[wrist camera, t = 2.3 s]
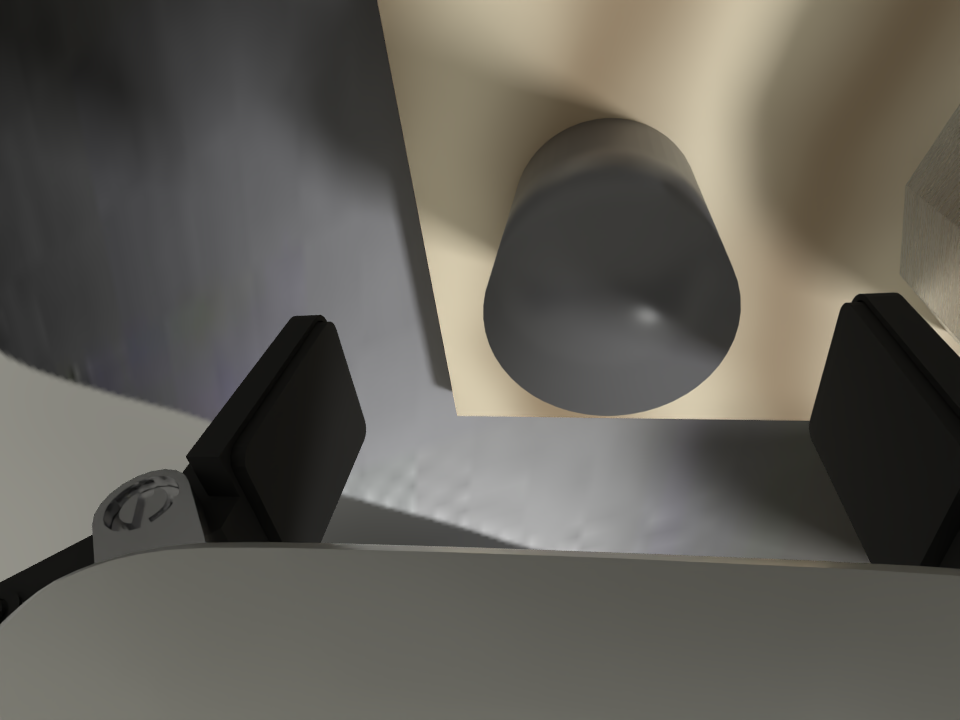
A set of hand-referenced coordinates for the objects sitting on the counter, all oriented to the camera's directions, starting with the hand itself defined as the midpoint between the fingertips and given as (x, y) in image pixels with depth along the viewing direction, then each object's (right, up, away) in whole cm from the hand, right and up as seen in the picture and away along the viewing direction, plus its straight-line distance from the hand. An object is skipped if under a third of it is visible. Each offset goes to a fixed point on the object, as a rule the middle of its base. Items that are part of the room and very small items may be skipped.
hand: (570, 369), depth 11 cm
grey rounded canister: (+2, +5, +6) cm, 7 cm away
